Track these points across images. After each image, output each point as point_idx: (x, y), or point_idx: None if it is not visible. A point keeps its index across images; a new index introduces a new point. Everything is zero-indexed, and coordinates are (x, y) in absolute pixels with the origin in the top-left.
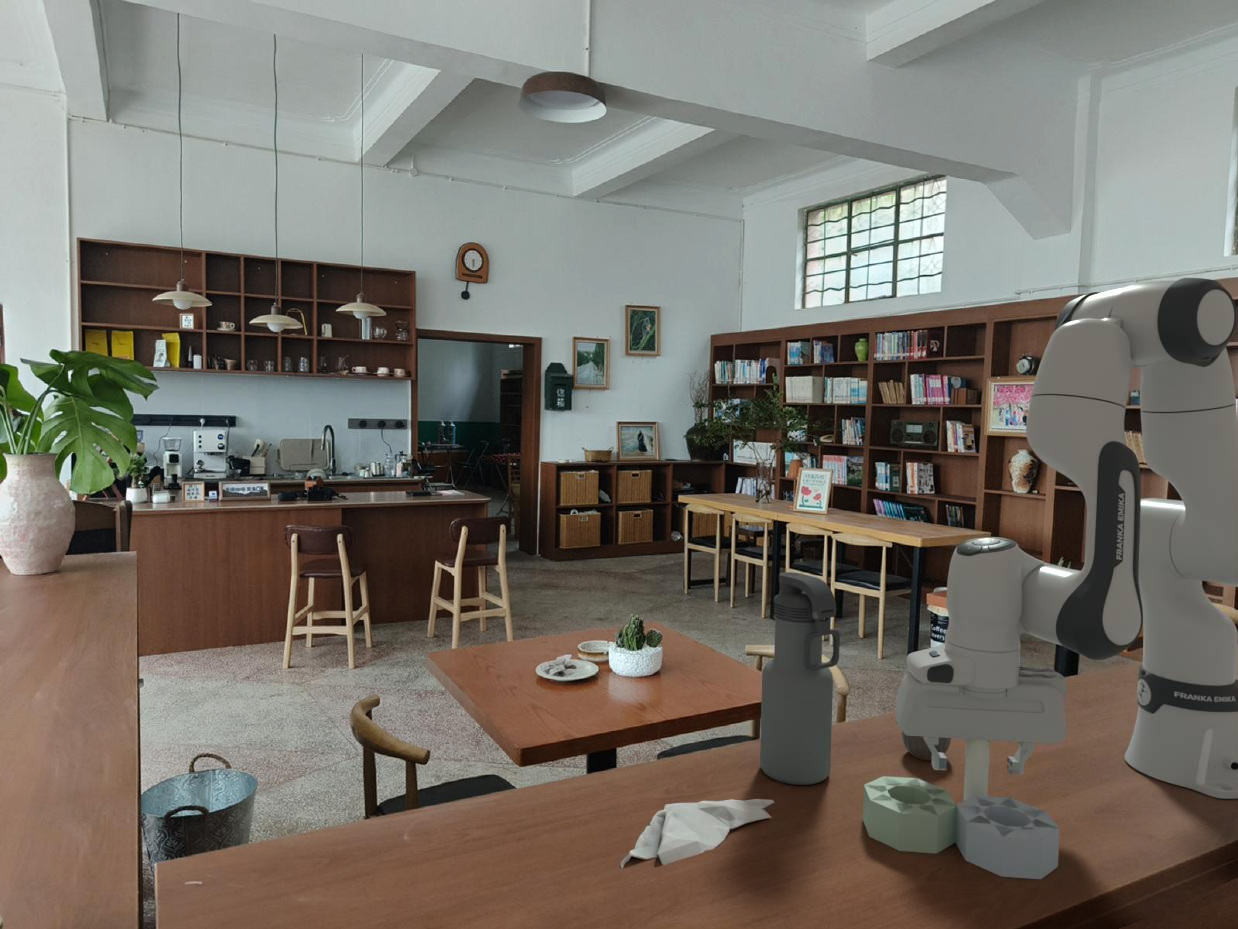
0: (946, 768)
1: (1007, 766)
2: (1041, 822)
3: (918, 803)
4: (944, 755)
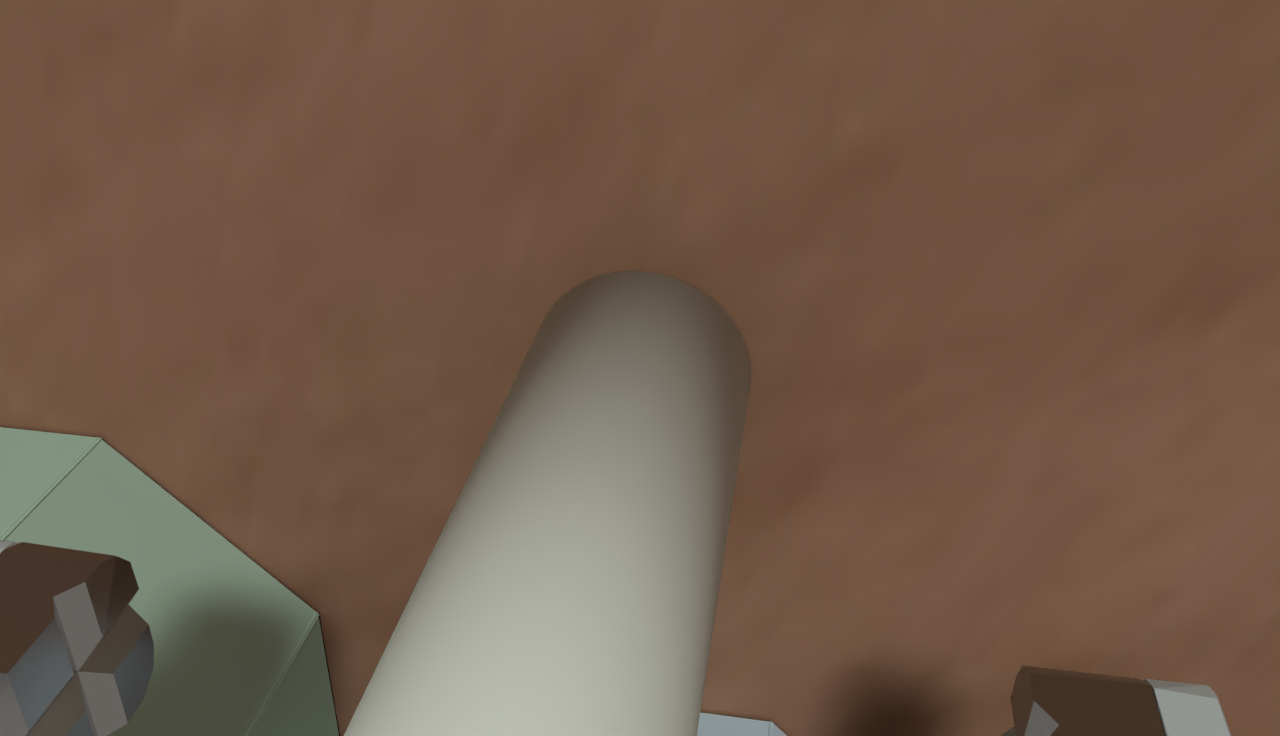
0: (138, 701)
1: (1025, 707)
2: None
3: None
4: (29, 733)
